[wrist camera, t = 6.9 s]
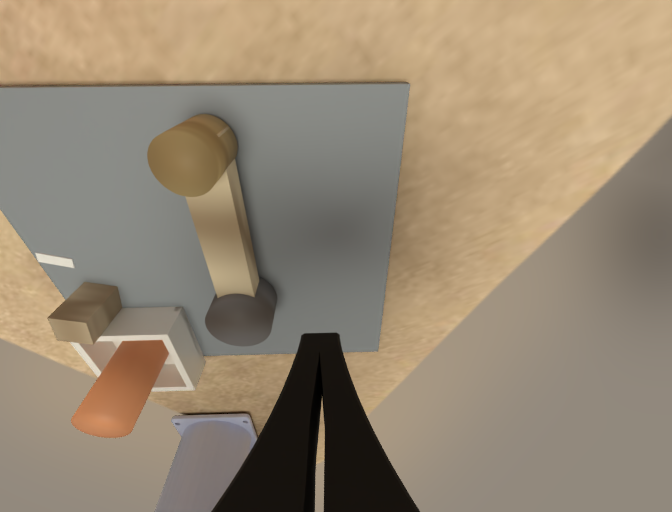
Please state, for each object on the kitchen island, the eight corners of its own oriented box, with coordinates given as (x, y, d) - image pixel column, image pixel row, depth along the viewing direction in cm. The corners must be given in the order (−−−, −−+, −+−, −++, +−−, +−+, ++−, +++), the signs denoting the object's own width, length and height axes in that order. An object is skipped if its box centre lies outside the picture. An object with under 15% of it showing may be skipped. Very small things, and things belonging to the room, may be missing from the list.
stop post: (117, 286, 20) (86, 322, 17) (122, 307, 21) (93, 344, 18) (84, 281, 20) (47, 317, 17) (91, 303, 21) (57, 340, 18)
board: (376, 343, 25) (378, 352, 25) (113, 350, 25) (107, 359, 24) (406, 82, 14) (410, 84, 13) (-68, 86, 14) (-90, 88, 13)
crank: (280, 316, 22) (273, 357, 19) (224, 317, 22) (209, 359, 19) (247, 113, 14) (226, 130, 11) (160, 114, 14) (117, 132, 11)
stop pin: (162, 326, 21) (116, 409, 17) (178, 353, 23) (141, 435, 18) (117, 329, 21) (58, 413, 17) (137, 356, 23) (89, 439, 18)
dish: (205, 361, 25) (195, 390, 23) (128, 363, 25) (110, 392, 23) (182, 306, 21) (167, 334, 19) (91, 308, 21) (65, 337, 19)
